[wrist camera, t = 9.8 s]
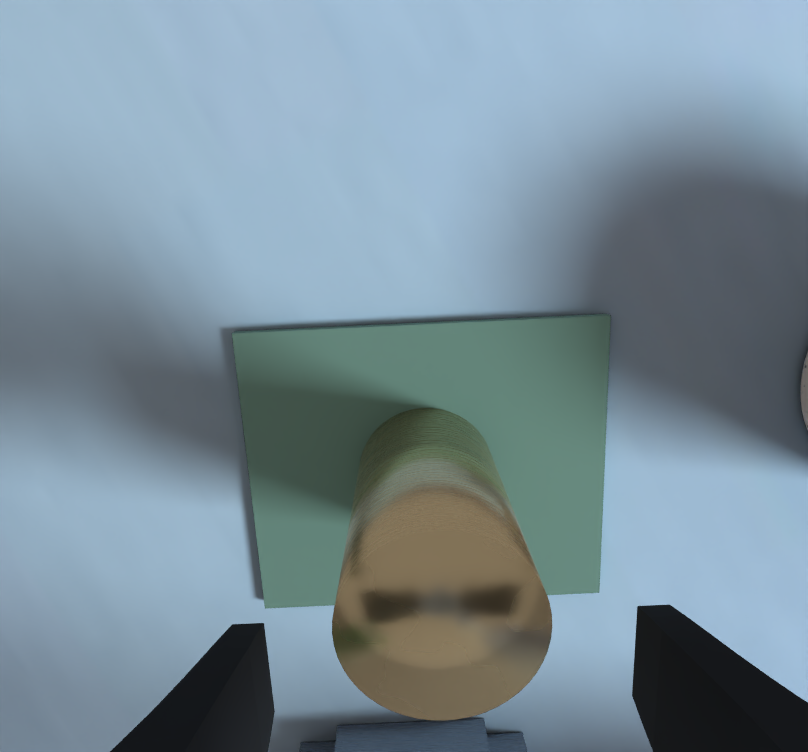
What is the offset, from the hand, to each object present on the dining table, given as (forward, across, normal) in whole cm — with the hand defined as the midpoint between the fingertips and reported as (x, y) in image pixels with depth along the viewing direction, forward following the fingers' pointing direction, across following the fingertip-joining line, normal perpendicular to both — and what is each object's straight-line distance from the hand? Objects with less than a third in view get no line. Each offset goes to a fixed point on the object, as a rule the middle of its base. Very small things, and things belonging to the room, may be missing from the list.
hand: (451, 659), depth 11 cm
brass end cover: (+9, 0, 0) cm, 9 cm away
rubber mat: (+9, 0, 0) cm, 9 cm away
